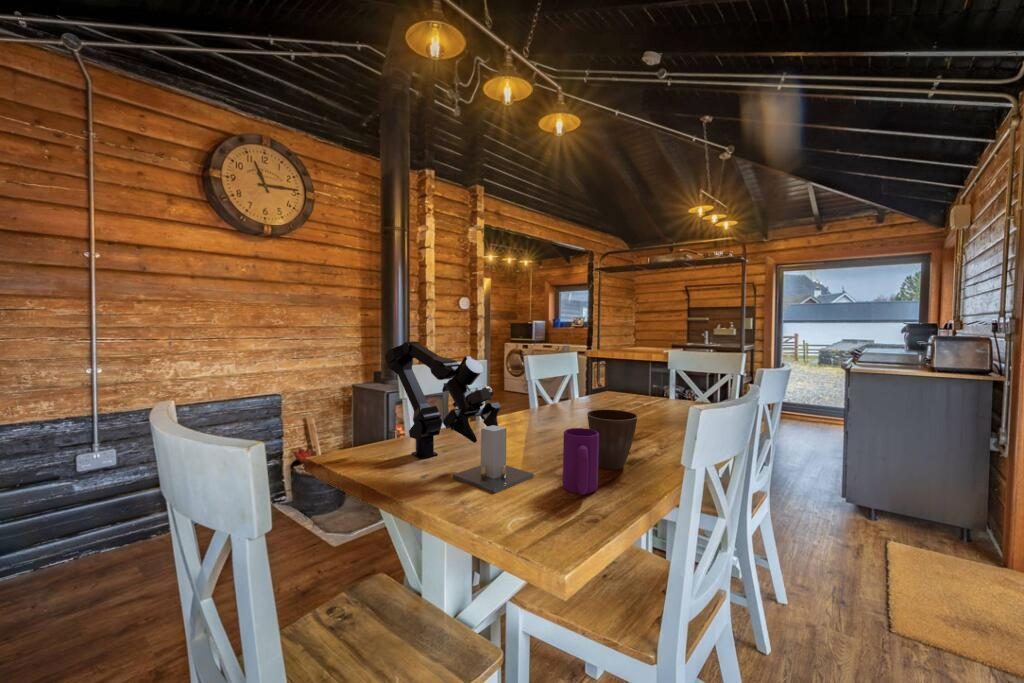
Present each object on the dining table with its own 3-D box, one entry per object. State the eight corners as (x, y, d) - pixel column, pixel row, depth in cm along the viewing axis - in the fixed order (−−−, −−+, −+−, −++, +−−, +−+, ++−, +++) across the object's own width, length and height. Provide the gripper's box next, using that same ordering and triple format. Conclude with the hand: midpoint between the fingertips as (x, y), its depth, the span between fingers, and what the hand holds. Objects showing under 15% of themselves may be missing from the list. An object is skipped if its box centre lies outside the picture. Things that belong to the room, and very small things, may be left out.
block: (480, 474, 122) (481, 428, 121) (492, 469, 125) (493, 425, 125) (493, 478, 118) (494, 431, 118) (505, 473, 122) (506, 428, 122)
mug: (595, 482, 119) (596, 428, 119) (603, 506, 104) (604, 444, 103) (562, 481, 120) (563, 427, 119) (564, 504, 105) (565, 442, 104)
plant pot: (634, 477, 124) (635, 421, 123) (582, 470, 129) (583, 417, 128) (637, 461, 138) (639, 411, 137) (590, 456, 143) (591, 408, 142)
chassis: (452, 478, 121) (452, 463, 121) (492, 464, 133) (492, 450, 133) (494, 493, 111) (494, 477, 110) (533, 477, 123) (533, 462, 123)
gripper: (451, 380, 119) (478, 428, 112) (497, 375, 133) (524, 417, 126) (432, 405, 124) (457, 451, 117) (478, 397, 138) (503, 438, 132)
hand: (487, 438), depth 123 cm, fingers open, 9 cm apart
